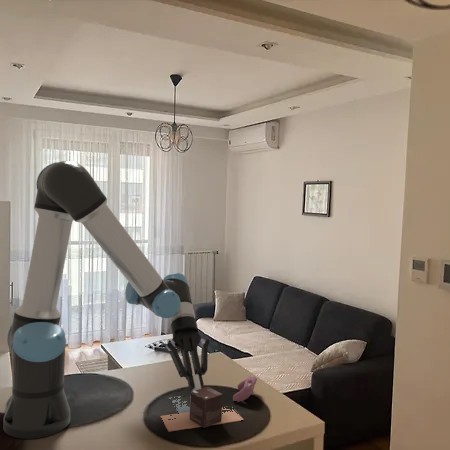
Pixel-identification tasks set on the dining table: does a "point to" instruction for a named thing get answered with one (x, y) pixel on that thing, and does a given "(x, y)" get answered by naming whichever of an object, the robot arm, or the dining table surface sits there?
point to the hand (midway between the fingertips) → (199, 400)
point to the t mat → (185, 422)
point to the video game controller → (245, 389)
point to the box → (206, 406)
